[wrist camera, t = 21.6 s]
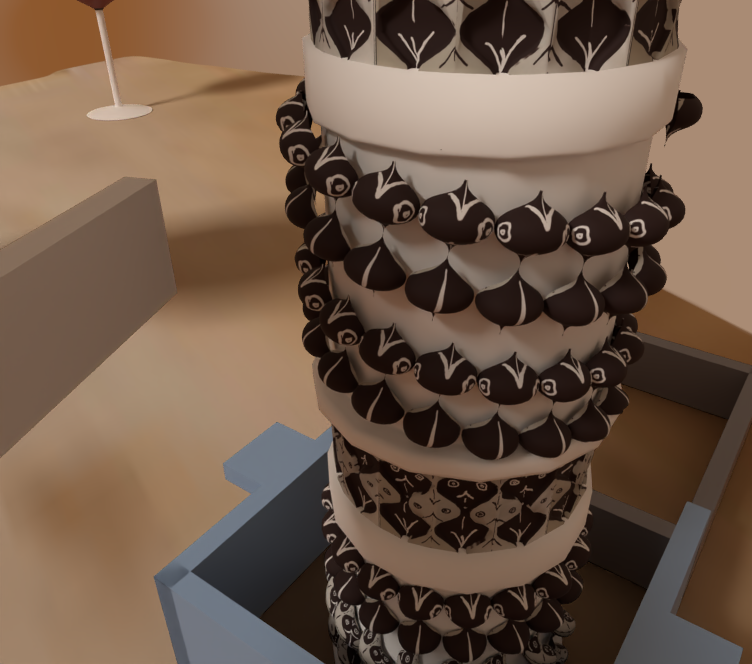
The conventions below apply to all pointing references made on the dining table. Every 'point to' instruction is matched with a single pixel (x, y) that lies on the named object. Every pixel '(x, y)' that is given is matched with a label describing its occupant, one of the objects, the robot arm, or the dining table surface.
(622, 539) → the charcoal holder
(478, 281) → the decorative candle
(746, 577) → the dining table surface
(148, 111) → the wineglass
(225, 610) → the blue tray
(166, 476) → the dining table surface
